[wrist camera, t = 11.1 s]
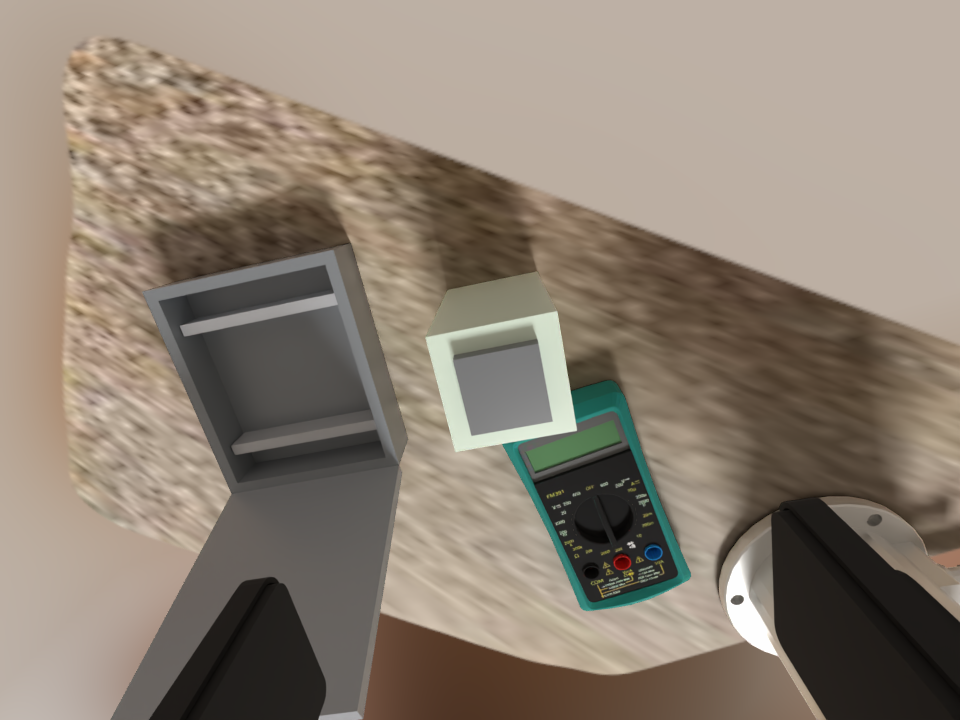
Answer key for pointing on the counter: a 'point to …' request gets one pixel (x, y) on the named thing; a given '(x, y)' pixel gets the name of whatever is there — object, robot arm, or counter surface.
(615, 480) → the digital multimeter
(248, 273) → the case
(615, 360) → the counter surface
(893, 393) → the counter surface
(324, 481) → the lid
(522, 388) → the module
